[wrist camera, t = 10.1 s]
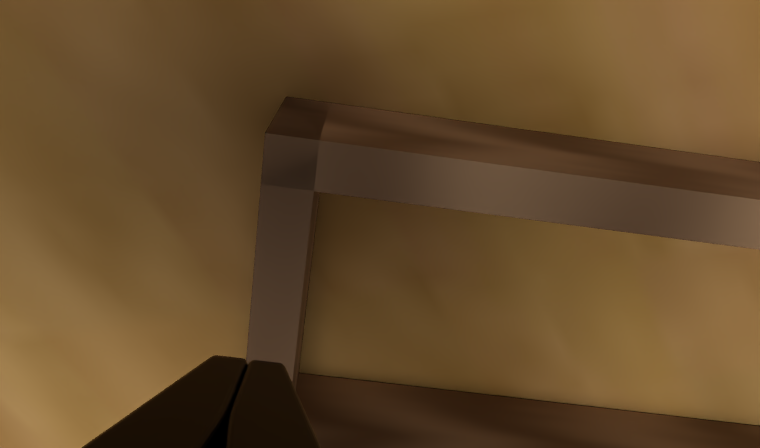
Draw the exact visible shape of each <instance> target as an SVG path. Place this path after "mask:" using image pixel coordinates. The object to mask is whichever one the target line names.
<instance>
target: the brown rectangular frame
mask: <svg viewBox="0 0 760 448" xmlns="http://www.w3.org/2000/svg"><path fill="white" fill-rule="evenodd" d="M320 192H323V193H330V194H338V195H346V196H353V197H361V198H369V199H376V200H384V201H392V202H399V203H407V204H415V205H422V206H430V207H438V208H445V209H453V210H460V211H468V212H476V213H483V214H491V215H499V216H506V217H514V218H522V219H529V220H537V221H545V222H552V223H560V224H568V225H575V226H583V227H591V228H598V229H606V230H613V231H621V232H629V233H636V234H644V235H652V236H659V237H667V238H675V239H682V240H690V241H698V242H705V243H713V244H721V245H728V246H736V247H743V248H751V249H759V250H760V162H754V161H747V160H740V159H733V158H725V157H718V156H711V155H704V154H696V153H689V152H682V151H675V150H668V149H660V148H653V147H646V146H639V145H631V144H624V143H617V142H610V141H603V140H595V139H588V138H581V137H574V136H567V135H559V134H552V133H545V132H538V131H530V130H523V129H516V128H509V127H502V126H494V125H487V124H480V123H473V122H465V121H458V120H451V119H444V118H437V117H429V116H422V115H415V114H408V113H400V112H393V111H386V110H379V109H372V108H364V107H357V106H350V105H343V104H335V103H328V102H321V101H314V100H307V99H299V98H292V97H286V98H285V100H284V102H283V103H282V105H281V107H280V108H279V110H278V112H277V114H276V115H275V117H274V119H273V120H272V122H271V124H270V126H269V127H268V129H267V131H266V132H265V141H264V153H263V165H262V177H261V189H260V201H259V213H258V226H257V238H256V250H255V262H254V274H253V286H252V298H251V310H250V322H249V334H248V346H247V358H246V361H247V363H248V364H249V362H250V361H252V360H261V361H269V362H278V363H282V364H283V365H284V366H285V367H286V369H287V372H288V374H289V376H290V378H291V381H292V383H293V385H294V388H295V390H296V392H297V394H298V397H299V399H300V401H301V403H302V406H303V408H304V410H305V412H306V415H307V417H308V419H309V421H310V424H311V426H312V428H313V431H314V433H315V435H316V437H317V440H318V442H319V444H320V446H321V448H760V426H754V425H745V424H736V423H727V422H719V421H710V420H701V419H693V418H684V417H675V416H667V415H658V414H649V413H640V412H632V411H623V410H614V409H606V408H597V407H588V406H580V405H571V404H562V403H554V402H545V401H536V400H527V399H519V398H510V397H501V396H493V395H484V394H475V393H467V392H458V391H449V390H441V389H432V388H423V387H414V386H406V385H397V384H388V383H380V382H371V381H362V380H354V379H345V378H336V377H327V376H319V375H310V374H301V373H299V366H300V357H301V349H302V340H303V331H304V323H305V314H306V306H307V297H308V288H309V280H310V271H311V263H312V254H313V245H314V237H315V228H316V220H317V211H318V202H319V194H320Z"/></svg>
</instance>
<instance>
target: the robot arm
mask: <svg viewBox="0 0 760 448" xmlns="http://www.w3.org/2000/svg"><path fill="white" fill-rule="evenodd" d="M82 448H321V446H320V444H319V442H318V440H317V437H316V435H315V433H314V431H313V428H312V426H311V424H310V421H309V419H308V417H307V415H306V412H305V410H304V408H303V406H302V403H301V401H300V399H299V397H298V394H297V392H296V390H295V388H294V385H293V383H292V381H291V378H290V376H289V374H288V372H287V369H286V367H285V366H284V365H283V364H282V363H278V362H269V361H261V360H252V361H250V362H249V364H248V363H247V361H246V360H245V359H242V358H235V357H227V356H218V355H215V356H212V357H210V358H209V359H207V360H206V361H204V362H203V363H202V364H200V365H199V366H197V367H196V368H194V369H193V370H192V371H190V372H189V373H187V374H186V375H184V376H183V377H182V378H180V379H179V380H177V381H176V382H174V383H173V384H172V385H170V386H169V387H167V388H166V389H164V390H163V391H162V392H160V393H159V394H157V395H156V396H155V397H153V398H152V399H150V400H149V401H147V402H146V403H145V404H143V405H142V406H140V407H139V408H137V409H136V410H135V411H133V412H132V413H130V414H129V415H127V416H126V417H125V418H123V419H122V420H120V421H119V422H117V423H116V424H115V425H113V426H112V427H110V428H109V429H107V430H106V431H105V432H103V433H102V434H100V435H99V436H97V437H96V438H95V439H93V440H92V441H90V442H89V443H87V444H86V445H85V446H83V447H82Z"/></svg>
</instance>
